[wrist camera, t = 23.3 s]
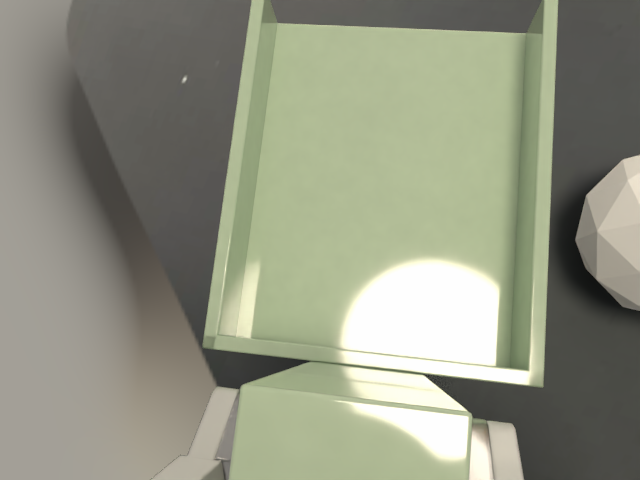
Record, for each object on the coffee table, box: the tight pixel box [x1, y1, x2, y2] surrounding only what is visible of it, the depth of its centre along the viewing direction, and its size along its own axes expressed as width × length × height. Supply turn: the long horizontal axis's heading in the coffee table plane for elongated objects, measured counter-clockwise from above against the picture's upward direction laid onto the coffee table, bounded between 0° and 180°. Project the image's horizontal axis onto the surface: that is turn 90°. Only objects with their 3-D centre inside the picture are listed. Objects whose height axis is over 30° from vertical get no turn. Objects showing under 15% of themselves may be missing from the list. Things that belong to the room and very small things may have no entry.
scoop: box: [202, 0, 558, 480], centre depth 12 cm, size 14×9×10 cm, turn 174°
